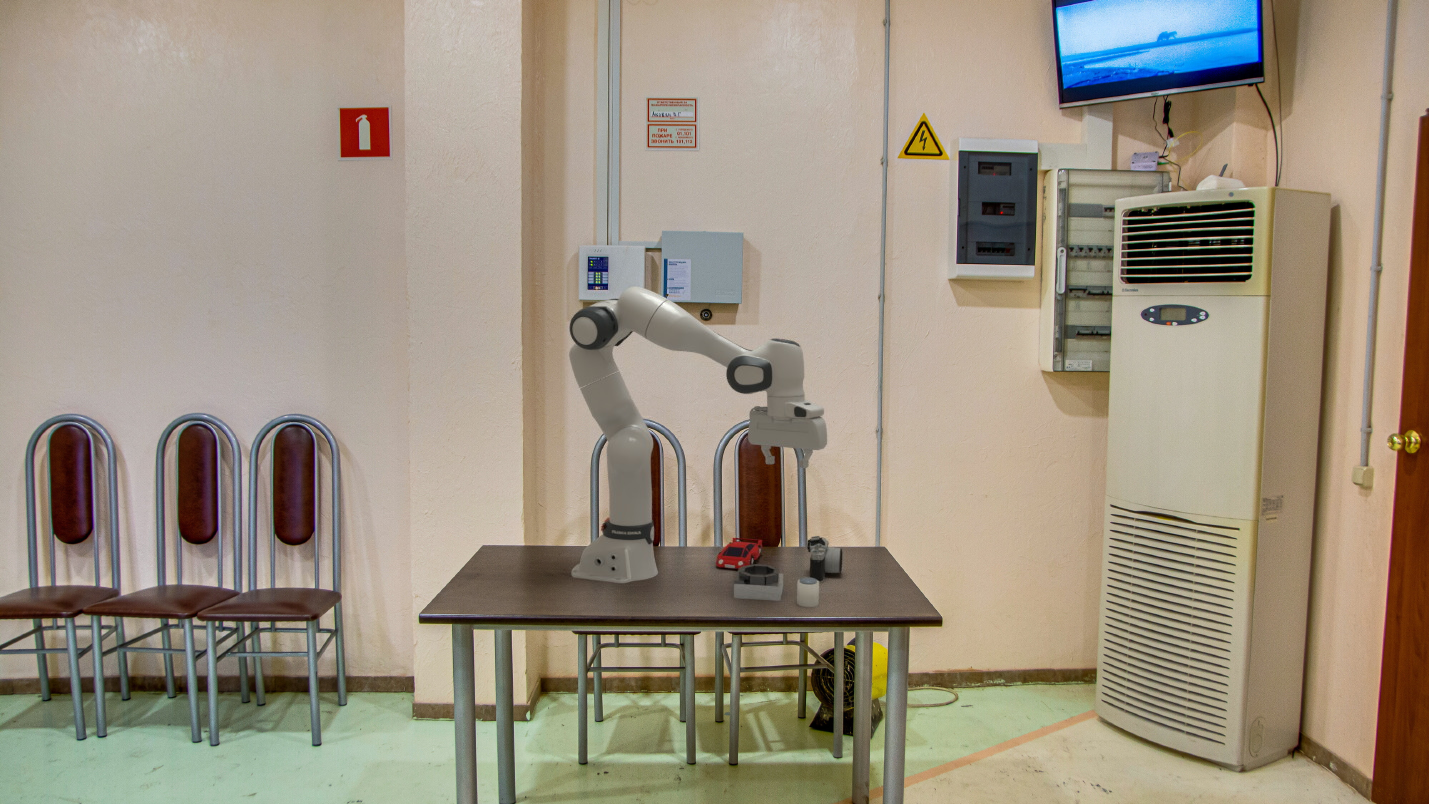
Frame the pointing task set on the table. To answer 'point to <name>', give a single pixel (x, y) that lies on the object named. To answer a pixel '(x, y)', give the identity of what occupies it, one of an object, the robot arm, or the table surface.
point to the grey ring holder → (758, 583)
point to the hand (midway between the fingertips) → (786, 465)
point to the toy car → (739, 553)
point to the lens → (808, 592)
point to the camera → (823, 558)
